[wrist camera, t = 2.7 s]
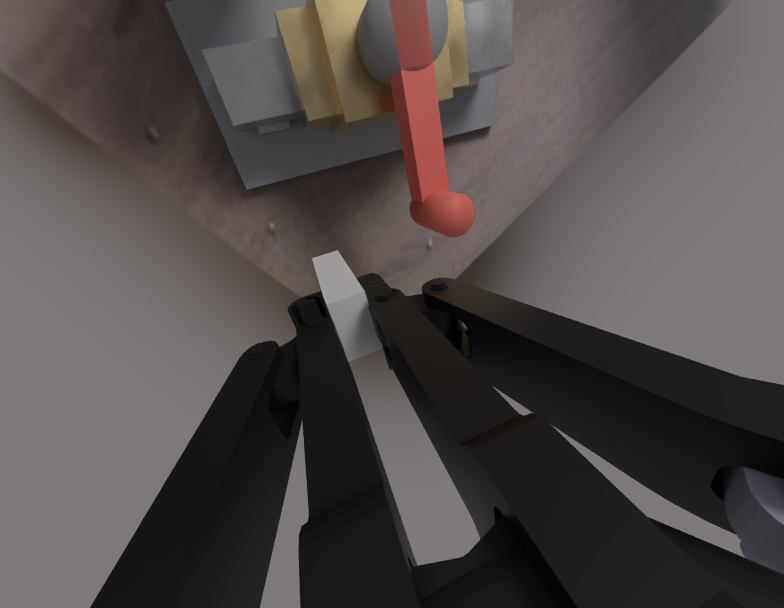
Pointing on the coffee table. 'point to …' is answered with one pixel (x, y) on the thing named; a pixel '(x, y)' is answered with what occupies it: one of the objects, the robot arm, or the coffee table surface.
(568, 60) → the coffee table surface
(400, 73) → the lever
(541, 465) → the robot arm
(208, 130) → the coffee table surface
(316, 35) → the pipe valve
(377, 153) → the mount board
